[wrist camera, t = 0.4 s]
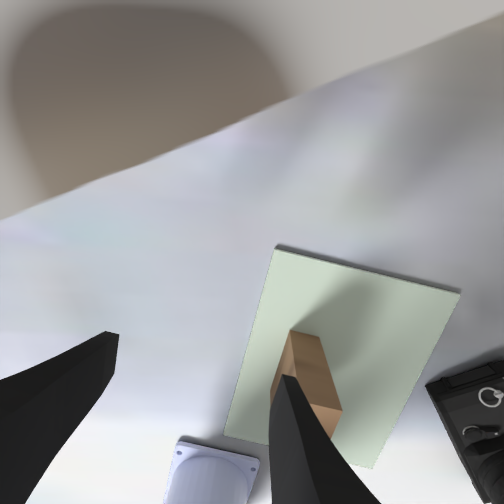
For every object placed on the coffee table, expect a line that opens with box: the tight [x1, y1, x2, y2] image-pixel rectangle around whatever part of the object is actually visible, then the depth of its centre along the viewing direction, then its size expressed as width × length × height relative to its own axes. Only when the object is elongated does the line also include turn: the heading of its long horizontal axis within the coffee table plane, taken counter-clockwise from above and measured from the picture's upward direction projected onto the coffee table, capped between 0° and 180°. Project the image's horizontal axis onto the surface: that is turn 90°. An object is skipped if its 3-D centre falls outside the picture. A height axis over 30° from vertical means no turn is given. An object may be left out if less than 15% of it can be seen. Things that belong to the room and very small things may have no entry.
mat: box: [223, 248, 461, 469], centre depth 23 cm, size 18×14×1 cm
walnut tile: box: [270, 330, 343, 439], centre depth 19 cm, size 6×2×7 cm, turn 166°
